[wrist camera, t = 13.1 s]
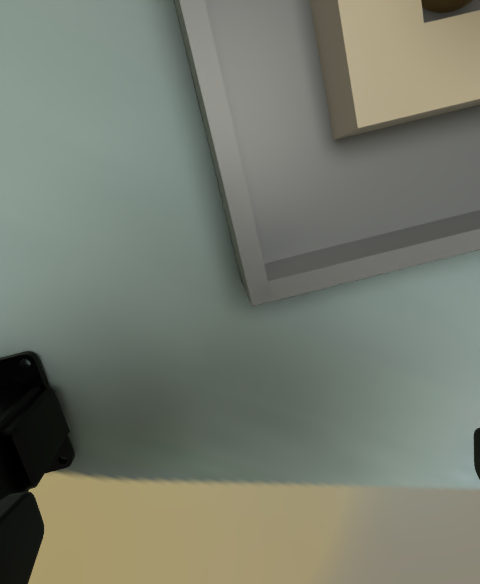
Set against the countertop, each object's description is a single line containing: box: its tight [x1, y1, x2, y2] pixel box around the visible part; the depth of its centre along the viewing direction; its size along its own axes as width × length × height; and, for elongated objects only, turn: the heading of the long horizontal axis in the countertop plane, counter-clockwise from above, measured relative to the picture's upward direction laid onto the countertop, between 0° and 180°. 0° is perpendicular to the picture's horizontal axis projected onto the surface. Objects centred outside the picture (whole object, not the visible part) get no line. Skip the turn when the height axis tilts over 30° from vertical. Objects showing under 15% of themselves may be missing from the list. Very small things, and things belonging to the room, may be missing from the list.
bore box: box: [174, 0, 480, 306], centre depth 16 cm, size 16×16×5 cm
